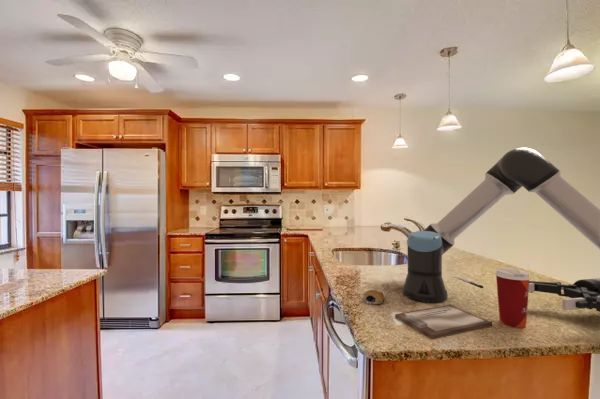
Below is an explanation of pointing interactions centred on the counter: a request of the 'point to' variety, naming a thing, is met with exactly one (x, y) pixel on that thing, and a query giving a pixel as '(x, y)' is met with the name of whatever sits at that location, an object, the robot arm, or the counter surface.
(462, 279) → the chef's knife
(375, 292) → the pastry
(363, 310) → the counter surface
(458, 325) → the brown framed picture
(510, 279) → the coffee cup
